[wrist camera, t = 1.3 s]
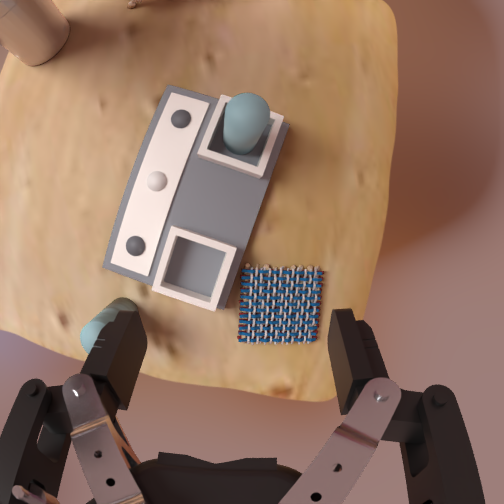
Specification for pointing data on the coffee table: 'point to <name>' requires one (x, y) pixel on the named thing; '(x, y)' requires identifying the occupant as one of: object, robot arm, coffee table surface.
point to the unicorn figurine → (133, 3)
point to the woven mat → (279, 304)
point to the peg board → (195, 194)
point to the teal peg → (103, 321)
